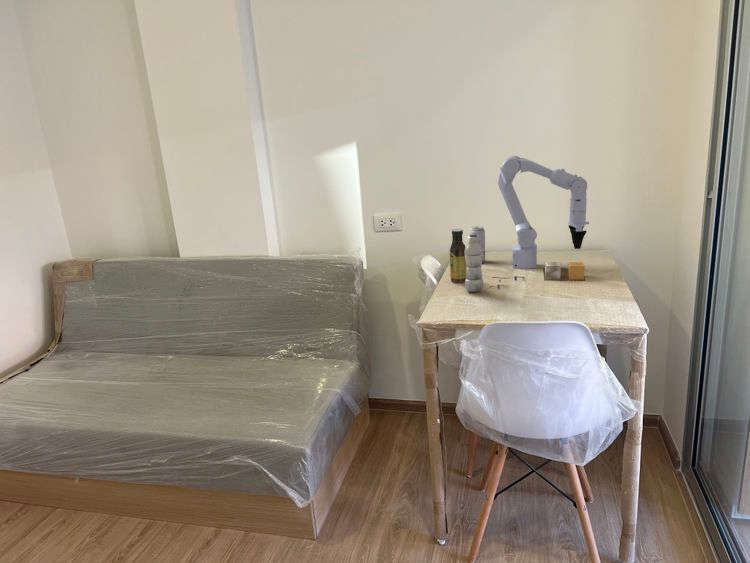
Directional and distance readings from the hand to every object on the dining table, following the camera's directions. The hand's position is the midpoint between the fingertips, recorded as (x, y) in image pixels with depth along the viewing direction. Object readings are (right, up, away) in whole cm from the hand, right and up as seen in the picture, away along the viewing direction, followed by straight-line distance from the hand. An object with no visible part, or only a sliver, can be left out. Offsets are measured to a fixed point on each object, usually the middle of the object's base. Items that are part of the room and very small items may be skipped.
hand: (576, 246), depth 204 cm
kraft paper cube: (-4, -12, -9) cm, 16 cm away
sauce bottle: (-45, -13, +1) cm, 47 cm away
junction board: (-6, -12, -4) cm, 14 cm away
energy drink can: (-33, -5, +24) cm, 41 cm away
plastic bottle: (-41, -17, -12) cm, 46 cm away
